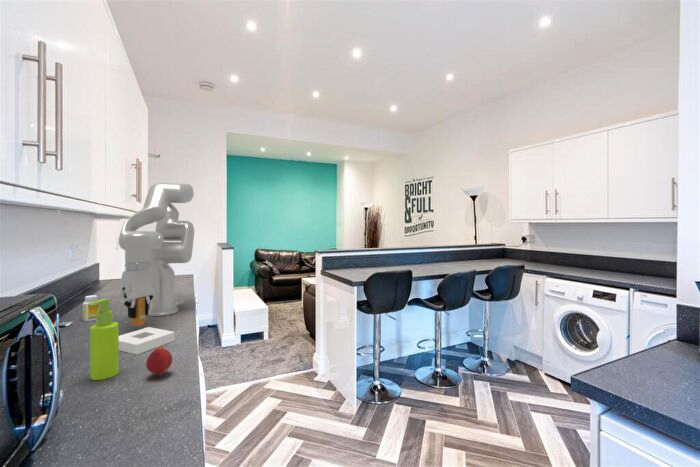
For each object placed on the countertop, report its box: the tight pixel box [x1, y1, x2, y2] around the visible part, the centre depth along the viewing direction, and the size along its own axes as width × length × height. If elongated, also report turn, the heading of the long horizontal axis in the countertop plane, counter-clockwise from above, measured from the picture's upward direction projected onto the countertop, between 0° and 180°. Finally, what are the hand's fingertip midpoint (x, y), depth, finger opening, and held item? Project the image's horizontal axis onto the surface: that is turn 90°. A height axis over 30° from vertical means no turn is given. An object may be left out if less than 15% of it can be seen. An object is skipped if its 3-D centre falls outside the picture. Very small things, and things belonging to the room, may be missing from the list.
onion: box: [145, 345, 173, 377], centre depth 84 cm, size 6×6×8 cm
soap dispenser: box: [87, 297, 120, 381], centre depth 83 cm, size 6×7×20 cm
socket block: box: [119, 326, 176, 355], centre depth 105 cm, size 13×13×3 cm
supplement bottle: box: [82, 294, 100, 322], centre depth 132 cm, size 5×5×10 cm
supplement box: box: [131, 297, 146, 327], centre depth 117 cm, size 3×3×10 cm
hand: (138, 315), depth 117 cm, fingers closed on supplement box, 4 cm apart
